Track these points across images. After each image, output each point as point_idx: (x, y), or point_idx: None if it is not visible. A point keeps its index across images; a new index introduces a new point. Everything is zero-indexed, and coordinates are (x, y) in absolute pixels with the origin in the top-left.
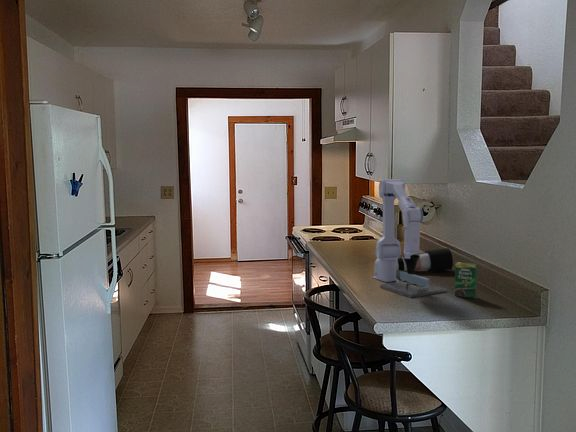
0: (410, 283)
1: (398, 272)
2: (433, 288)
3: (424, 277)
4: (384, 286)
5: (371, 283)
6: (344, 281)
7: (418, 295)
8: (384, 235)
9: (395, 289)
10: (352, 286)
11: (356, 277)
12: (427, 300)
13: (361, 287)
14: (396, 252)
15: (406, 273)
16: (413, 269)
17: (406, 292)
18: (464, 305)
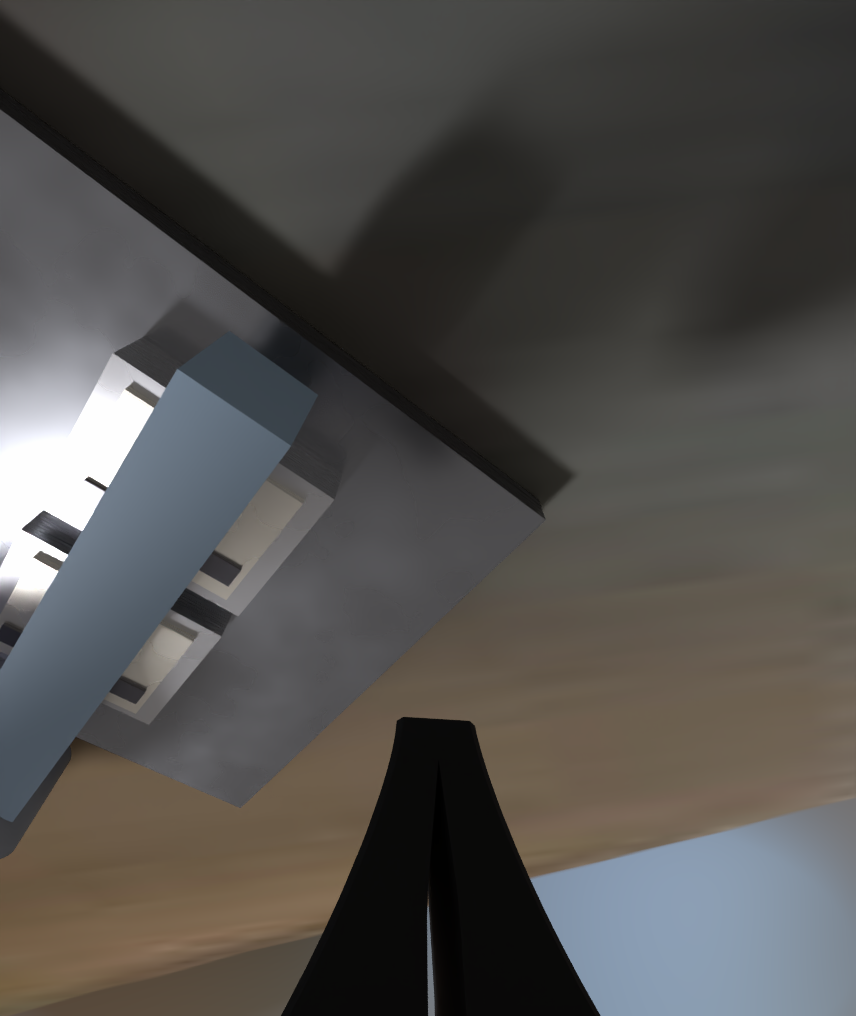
0: None
1: (19, 828)
2: (25, 260)
3: (110, 483)
4: (274, 771)
5: (155, 843)
6: (218, 957)
7: (442, 430)
8: None
9: (367, 685)
10: (331, 910)
11: (45, 931)
12: (611, 281)
13: (329, 871)
14: None
15: (25, 755)
16: (506, 829)
17: (452, 576)
18: None
